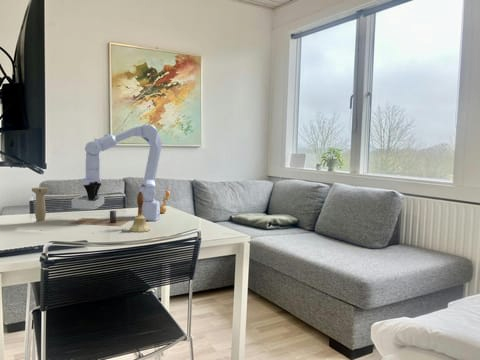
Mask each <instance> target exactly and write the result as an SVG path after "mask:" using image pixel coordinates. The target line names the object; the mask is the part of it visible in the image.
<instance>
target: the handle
mask: <svg viewBox="0 0 480 360" xmlns="http://www.w3.org/2000/svg"><path fill="white" fill-rule="evenodd" d="M49 191H50V188H49V187H42V186H41V187H31V192H32V193H35V208H34V209H35V211H34V214H35V219H36V222H39V223H41V222H45V220H46V213H47V212H46V211H47V210H46V195H45V194H46V193H48V192H49Z"/></svg>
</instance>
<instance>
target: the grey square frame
mask: <svg viewBox="0 0 480 360" xmlns="http://www.w3.org/2000/svg"><path fill="white" fill-rule="evenodd" d="M70 201H71V209H80V210H82V209H83V210H84V209H85V210H96V209H98V208H100V207H101V206H103V205H104V204H105V195H98V194H97V195H95V198H94V200H89V199H88V195H87V194H80V195H78V196H77V197H75V198H72V199H71V200H70Z"/></svg>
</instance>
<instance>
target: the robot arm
mask: <svg viewBox="0 0 480 360" xmlns="http://www.w3.org/2000/svg"><path fill="white" fill-rule="evenodd" d="M132 137H141V138H142V139H143V140H144V141H146V142H147V143H148V145H149V146H150V147H149V151H148V152H149V153H148V157H147V162H146V167H145V171H144V176H143V177H144V178H143V180H142V182H141V185H140V187H138V188H139V189H138V190H137V191H138V193H137V194H139V192H142V194H143V197H144V201H143V205H142V216H144V217H145V219H146V221H148V222H149V221H152V222H156V221H157V220H159V219H160V218H161V216H160V214H161V213H160V206H161V204H160V201H158V200H156V195H157V193H156V176H157V171H158V166H159V161H160V156H161V151H162V146H163V143H162V140H161V137H160V134H159V130H158V129H157V128H156V127H155V126H154V125H153V124H151V123H150V124H142V125H138V126H135V127H131V128H129V129H127V130H125V131H123V132H120V133H118V134H115V135H113V134H111V133H110V134H108V133H106V134H104V136H101V137H99V138H94V139H93V140H92V141H88V142H87V143H86V144H85V147H84V150H85V152H86V153H85V178H82V185H83V187H84V190H85V191H86V195H88V199H89V200H94V198H95V195H98V194H99V190H100V188H101V186H102V177H100V162H101V161H100V160H101V159H100V153H101V152H105V151H107V150H109V149H111V148H115V147H116V146H117V144H118V143H119V142H121V141H124V140H126V139H129V138H132Z"/></svg>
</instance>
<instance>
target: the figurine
mask: <svg viewBox="0 0 480 360" xmlns="http://www.w3.org/2000/svg"><path fill="white" fill-rule="evenodd" d="M164 192H165V194H164V195H163V196H162V198H163V199H162V203H163V204H162V205H160V214H164V213H166V212H167V207H166V204H167V201H168V200H169V198H170V196H171V191H170V190H167V189H165V191H164Z"/></svg>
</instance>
